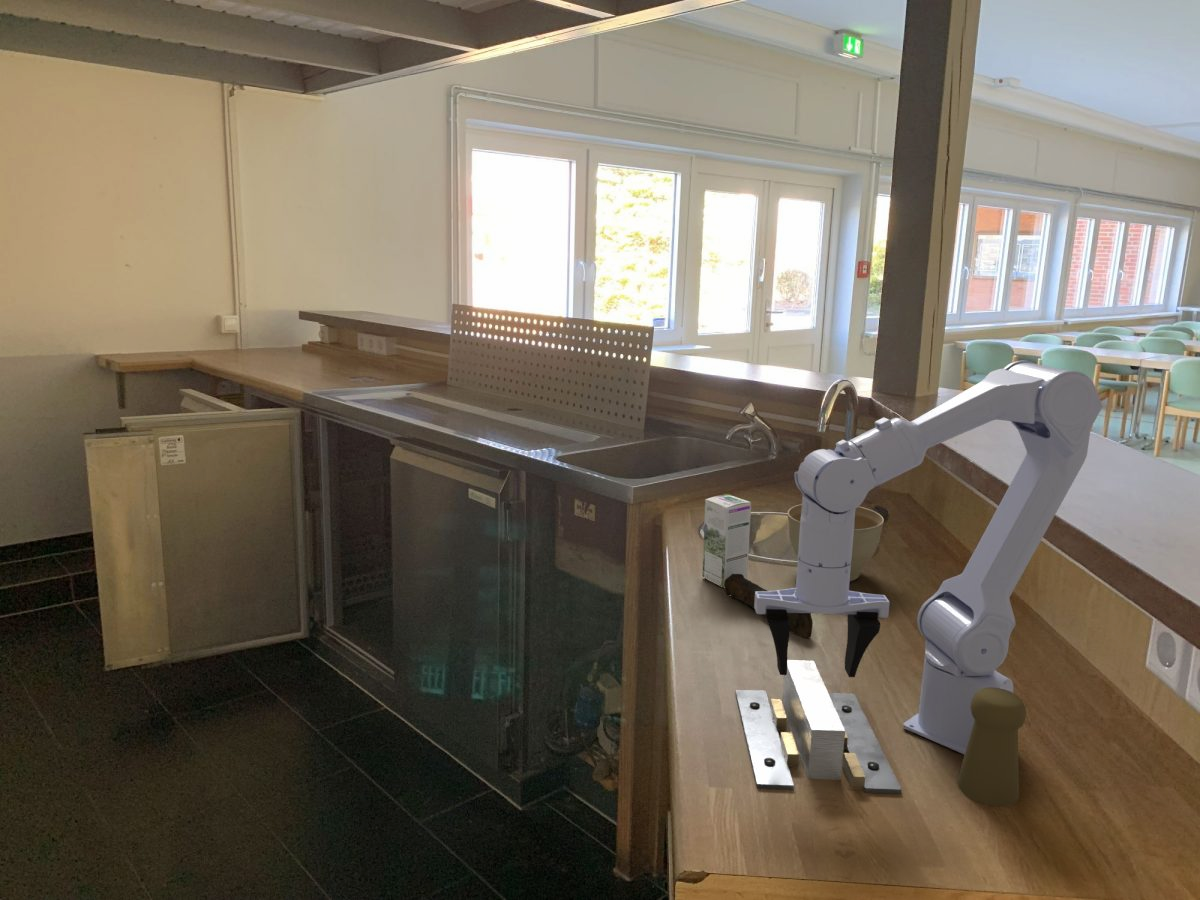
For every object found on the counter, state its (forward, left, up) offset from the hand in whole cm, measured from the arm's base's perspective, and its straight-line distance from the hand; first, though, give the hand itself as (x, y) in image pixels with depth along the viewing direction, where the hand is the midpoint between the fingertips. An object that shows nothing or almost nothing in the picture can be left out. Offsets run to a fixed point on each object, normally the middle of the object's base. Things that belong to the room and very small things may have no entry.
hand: (815, 672), depth 98 cm
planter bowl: (+28, -48, -9) cm, 56 cm away
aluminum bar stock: (0, 0, -9) cm, 9 cm away
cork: (-18, -6, -9) cm, 21 cm away
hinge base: (0, 0, -8) cm, 8 cm away
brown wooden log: (+24, -25, -9) cm, 36 cm away
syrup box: (+38, -31, -9) cm, 50 cm away
